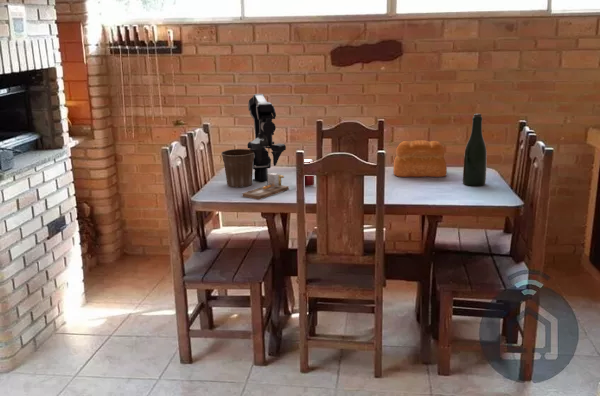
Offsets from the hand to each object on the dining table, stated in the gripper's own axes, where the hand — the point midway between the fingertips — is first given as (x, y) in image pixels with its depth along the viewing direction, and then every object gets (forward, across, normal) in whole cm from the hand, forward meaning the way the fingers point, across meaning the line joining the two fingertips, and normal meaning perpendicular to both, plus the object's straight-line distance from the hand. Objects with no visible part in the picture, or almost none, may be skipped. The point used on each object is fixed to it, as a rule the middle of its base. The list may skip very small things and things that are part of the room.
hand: (267, 164), depth 285 cm
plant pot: (+12, -18, 0) cm, 22 cm away
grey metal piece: (+10, +3, -2) cm, 11 cm away
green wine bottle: (+12, +76, +60) cm, 98 cm away
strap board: (+12, +3, -5) cm, 13 cm away
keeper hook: (+10, +4, +4) cm, 12 cm away
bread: (+12, +45, +66) cm, 81 cm away
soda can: (+12, +10, +17) cm, 23 cm away
